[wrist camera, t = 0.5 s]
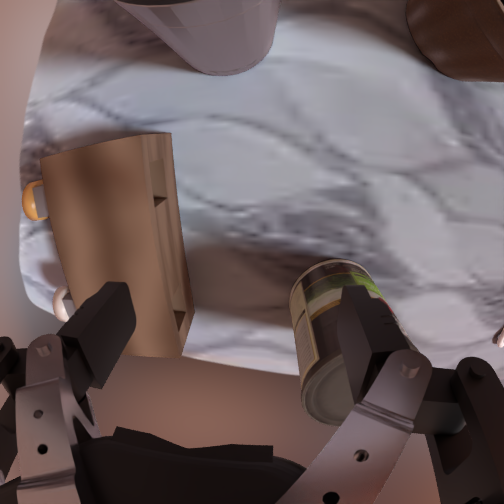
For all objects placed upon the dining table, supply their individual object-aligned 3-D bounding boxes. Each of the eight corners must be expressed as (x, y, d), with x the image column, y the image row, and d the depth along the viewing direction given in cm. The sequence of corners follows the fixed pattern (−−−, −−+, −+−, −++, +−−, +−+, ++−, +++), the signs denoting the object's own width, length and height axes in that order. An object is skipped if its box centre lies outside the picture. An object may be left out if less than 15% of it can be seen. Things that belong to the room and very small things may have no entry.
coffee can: (329, 240, 30) (375, 319, 17) (389, 288, 32) (443, 369, 19) (269, 308, 34) (274, 406, 21) (332, 346, 36) (357, 436, 23)
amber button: (48, 214, 26) (26, 226, 23) (42, 178, 25) (18, 186, 21) (94, 207, 26) (73, 219, 22) (88, 168, 25) (65, 175, 21)
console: (119, 311, 34) (93, 351, 27) (85, 148, 27) (39, 158, 19) (194, 312, 34) (180, 358, 27) (171, 133, 26) (140, 134, 19)
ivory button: (76, 309, 31) (60, 328, 27) (66, 280, 29) (48, 297, 26) (120, 311, 31) (106, 332, 27) (111, 280, 29) (94, 299, 25)
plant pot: (363, -28, 18) (427, -103, 3) (465, -18, 16) (541, -50, 1) (417, 103, 24) (531, 102, 9) (507, 94, 22) (601, 102, 7)
